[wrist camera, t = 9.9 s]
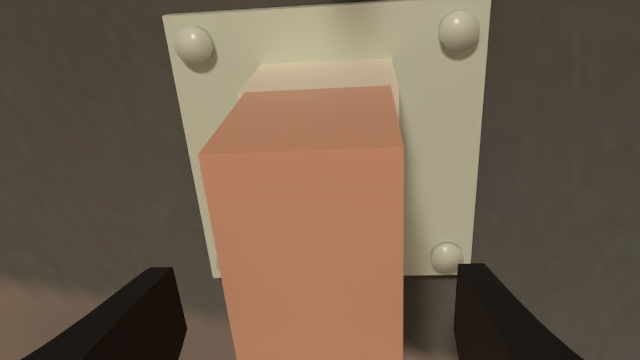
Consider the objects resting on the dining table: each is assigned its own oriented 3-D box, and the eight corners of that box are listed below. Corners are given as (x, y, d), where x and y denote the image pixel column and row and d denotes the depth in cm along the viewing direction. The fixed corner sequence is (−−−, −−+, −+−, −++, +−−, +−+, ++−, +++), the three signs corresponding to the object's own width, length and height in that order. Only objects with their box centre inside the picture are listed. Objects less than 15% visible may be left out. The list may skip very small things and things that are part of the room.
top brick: (391, 296, 18) (402, 410, 14) (273, 297, 19) (245, 408, 14) (390, 85, 15) (403, 146, 10) (244, 92, 15) (198, 154, 11)
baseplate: (467, 267, 23) (471, 280, 22) (216, 270, 24) (210, 282, 23) (487, -6, 18) (494, -4, 17) (167, 14, 19) (158, 17, 18)
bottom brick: (392, 238, 22) (398, 296, 18) (281, 240, 22) (266, 297, 19) (391, 58, 19) (399, 85, 15) (260, 64, 19) (237, 93, 15)
